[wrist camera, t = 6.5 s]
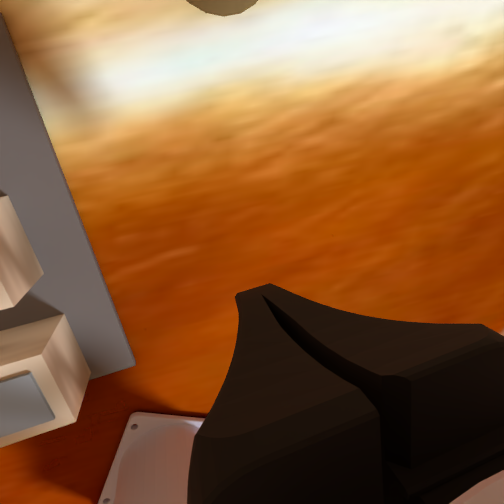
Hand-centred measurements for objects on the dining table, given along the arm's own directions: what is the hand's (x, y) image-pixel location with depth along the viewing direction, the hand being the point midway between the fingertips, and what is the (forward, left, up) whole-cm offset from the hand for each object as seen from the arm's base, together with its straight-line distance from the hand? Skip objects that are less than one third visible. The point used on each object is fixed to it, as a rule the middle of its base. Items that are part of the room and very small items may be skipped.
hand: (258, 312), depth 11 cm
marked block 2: (-10, +8, -10) cm, 16 cm away
